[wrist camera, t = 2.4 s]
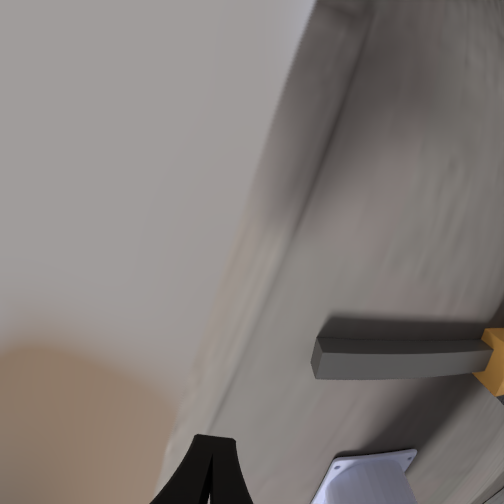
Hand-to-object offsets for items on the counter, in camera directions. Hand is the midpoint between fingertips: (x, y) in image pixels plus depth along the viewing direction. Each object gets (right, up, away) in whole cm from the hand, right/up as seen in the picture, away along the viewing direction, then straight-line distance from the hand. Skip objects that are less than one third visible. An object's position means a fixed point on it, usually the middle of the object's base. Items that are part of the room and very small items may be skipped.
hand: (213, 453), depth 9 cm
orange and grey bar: (+14, 0, +9) cm, 16 cm away
